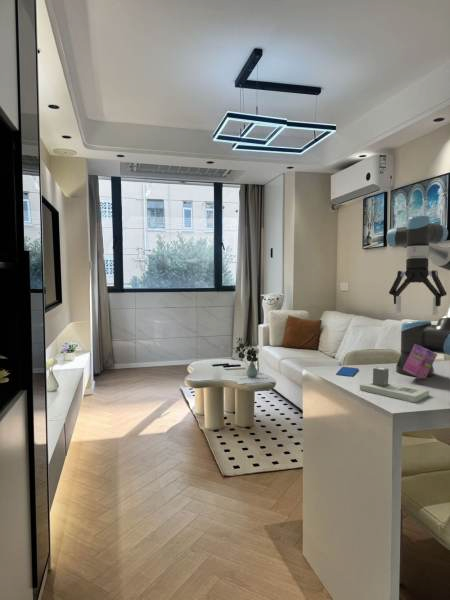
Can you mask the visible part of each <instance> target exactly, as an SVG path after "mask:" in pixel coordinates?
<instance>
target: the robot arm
mask: <svg viewBox="0 0 450 600" xmlns="http://www.w3.org/2000/svg"><path fill="white" fill-rule="evenodd" d="M448 236H449V230H448V229H447V227H446V225H444V224H441V223H433V222H432V223H431V222H430V217H429V216H427V215H415V216H410V217H408V218H407V224H406V226H402V227H398V226H397V227H394V228H390V229H388V231H387V233H386V242H387V244H388V245H389V246H390V247H401V248H404V249H406V261H405V262H406V263H405V264H406V265H405V268H406V271H403V270H397V273H396V278H395V279H394V282H393V284H392V286H391V288H390V289H389V292H388V293H389V295H391V296H393V305H395V314H400V313H401V312H402V307H401V306H402V305H401V304H402V295H401V294H402V293H403V291H404V290H405V289H406V288H407V287H408V285H410V284H412V283H417V284H419V283H420V284H421V283H423V284H424V285H425V286H426V287H427V288H428V290H429V291H430V292H431V294H432V295H434V296H433V297H432V316H438V314H439V307H440V306H441V300H442V297H444V296H447V294H448V293H447V291H446V289H445V288H444V285H443V283H442V281H441V280H440V279H441V278H440V277H439V273H438V270H437V269H436V270H429V261H431V263H432V264H433V265H435V266H437V267H439V268H441V269H443V270H446V271H450V247H449V246H447V245H440V244H441V243H444V242H445V241H446V239H447V238H448ZM405 276H406V278H405V279H404V281H403V282H402V284H401V281H402V280H403V277H405ZM429 276H430V277H431V278H432V280H433V282H434V284H435V286H436V287H435V286H434V285H433V284H432V282H431V281H430V280H429V279H428V277H429ZM400 329H401V330H400V355H399V357H398V361H397V363H396V365H395V372H396V373H399V374H401V375H404V376H411V377H412V376H413V377H415V376H414V375H412V374H410V373H408V372H406V371H404V370H403V367H404V365H405V363H406V361H407V359H408V357H409V355H410V353H411V351H412V349H413V347H414V345H415V344H416V345H419V346H421V347H424V348H426V349H428V350H430V351H432V352H434V353H436V354H443V355H447V356H450V303H449V305H448V307H447V309H446V312H445V314H444V316H443V317H440V318H439V319H438V321H437V323H436V324H432V321H431V320H414V321H413V320H410V321H404V322H403V323H401V328H400ZM434 375H435V369H434V366H433V364H432V366H431V368H430V370H429V373H428V375H427V377H432V376H434Z"/></svg>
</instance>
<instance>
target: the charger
mask: <svg viewBox="0 0 450 600" xmlns="http://www.w3.org/2000/svg"><path fill="white" fill-rule="evenodd" d="M372 380H373V385H376V386H380V387H386V386H388V382H389V368H387V367H380V366H377V367H374V368H373V370H372Z"/></svg>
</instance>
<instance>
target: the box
mask: <svg viewBox="0 0 450 600" xmlns="http://www.w3.org/2000/svg"><path fill="white" fill-rule="evenodd" d="M437 356H438V353H436V352H432V351H430V350H428V349H426V348H424V347H421V346H419V345H416V344H415V345H414V347H413V349H412V351H411V353H410V355H409V357H408V359H407V361H406V363H405V365H404V367H403V370H404V371H406V372H408V373H410V374H412V375H414V376H413V377H417V378H420V379H423V380H426V379H427V377H428V376H427V375H428V373H429V370H430V368H431V366H432V365H433V364H434V362H435V360H436V358H437Z"/></svg>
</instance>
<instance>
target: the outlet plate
mask: <svg viewBox="0 0 450 600" xmlns="http://www.w3.org/2000/svg"><path fill="white" fill-rule="evenodd" d="M359 391H363V392H367V393H372V394H376V395H381V396H386V397H389V398H393V399H394V398H395V399H398V400H402V401H407V402H411V403H417V402H419V401H421V400H423V399H425V398H427V397H429V396H430V389H427V388H421V387H416V386H411V385H406V384H401V383H396V382H391V381H388V386H386V387H380V386H376V385H373V379H372V380H369V381H366V382H364V383H361V384H359Z"/></svg>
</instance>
